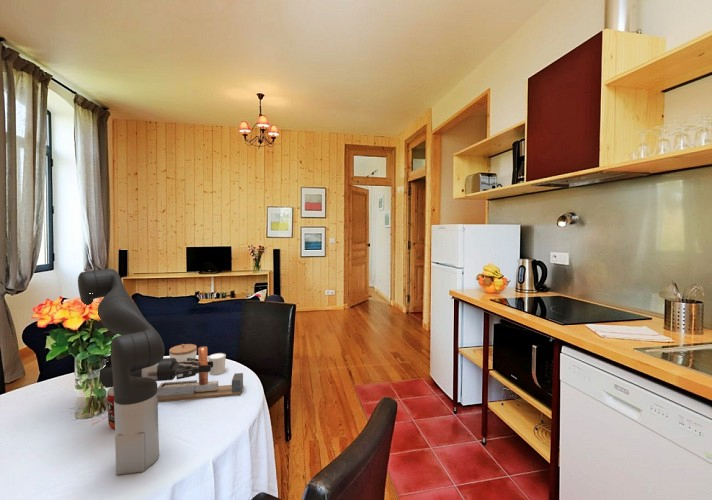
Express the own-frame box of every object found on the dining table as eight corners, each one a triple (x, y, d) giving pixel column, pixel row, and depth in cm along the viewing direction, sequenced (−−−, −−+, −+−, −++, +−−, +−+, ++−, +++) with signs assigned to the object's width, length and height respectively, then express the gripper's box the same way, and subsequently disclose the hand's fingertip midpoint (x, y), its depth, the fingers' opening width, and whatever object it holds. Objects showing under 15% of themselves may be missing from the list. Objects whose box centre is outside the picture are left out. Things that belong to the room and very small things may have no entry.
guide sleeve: (193, 394, 119) (193, 385, 119) (157, 397, 117) (156, 388, 117) (197, 388, 124) (197, 380, 124) (162, 391, 122) (161, 382, 121)
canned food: (103, 425, 102) (101, 390, 101) (131, 413, 109) (130, 379, 109) (117, 432, 99) (116, 396, 98) (145, 419, 106) (144, 385, 105)
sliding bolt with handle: (216, 390, 121) (216, 348, 121) (162, 394, 118) (161, 351, 117) (218, 386, 124) (217, 345, 124) (165, 390, 121) (164, 348, 120)
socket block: (240, 392, 122) (240, 379, 121) (231, 392, 121) (231, 380, 121) (243, 384, 127) (242, 373, 127) (234, 385, 127) (234, 373, 127)
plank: (240, 395, 121) (240, 392, 121) (155, 402, 116) (155, 399, 116) (243, 386, 128) (243, 384, 128) (163, 392, 123) (162, 390, 123)
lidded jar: (202, 361, 152) (201, 341, 152) (187, 371, 142) (186, 349, 141) (180, 360, 154) (179, 339, 153) (163, 369, 143) (163, 348, 143)
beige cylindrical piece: (208, 370, 143) (207, 354, 142) (225, 367, 145) (225, 351, 145) (208, 376, 136) (208, 359, 136) (226, 373, 139) (226, 357, 139)
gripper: (151, 367, 112) (206, 363, 115) (166, 352, 126) (215, 349, 129) (152, 389, 112) (207, 385, 115) (167, 371, 126) (216, 368, 129)
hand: (211, 366), depth 122 cm, fingers closed on sliding bolt with handle, 3 cm apart
